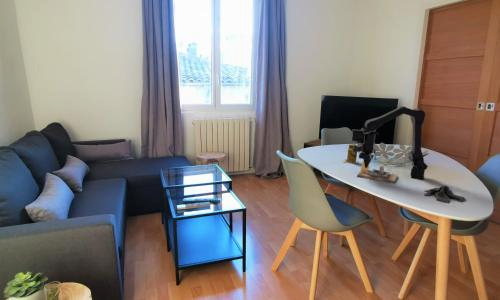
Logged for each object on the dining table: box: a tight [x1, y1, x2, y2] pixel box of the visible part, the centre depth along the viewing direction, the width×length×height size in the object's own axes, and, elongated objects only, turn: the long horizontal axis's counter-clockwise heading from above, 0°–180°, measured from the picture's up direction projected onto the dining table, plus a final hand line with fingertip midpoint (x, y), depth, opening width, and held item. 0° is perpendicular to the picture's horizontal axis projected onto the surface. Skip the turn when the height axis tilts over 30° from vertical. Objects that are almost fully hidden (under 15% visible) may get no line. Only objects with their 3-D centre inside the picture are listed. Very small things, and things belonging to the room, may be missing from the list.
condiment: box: [342, 143, 358, 165], centre depth 209 cm, size 7×8×12 cm
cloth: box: [423, 185, 466, 204], centre depth 151 cm, size 22×19×6 cm
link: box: [360, 160, 390, 178], centre depth 179 cm, size 15×9×6 cm, turn 57°
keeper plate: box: [356, 165, 398, 184], centre depth 178 cm, size 20×13×7 cm, turn 57°
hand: (366, 167), depth 181 cm, fingers closed on link
